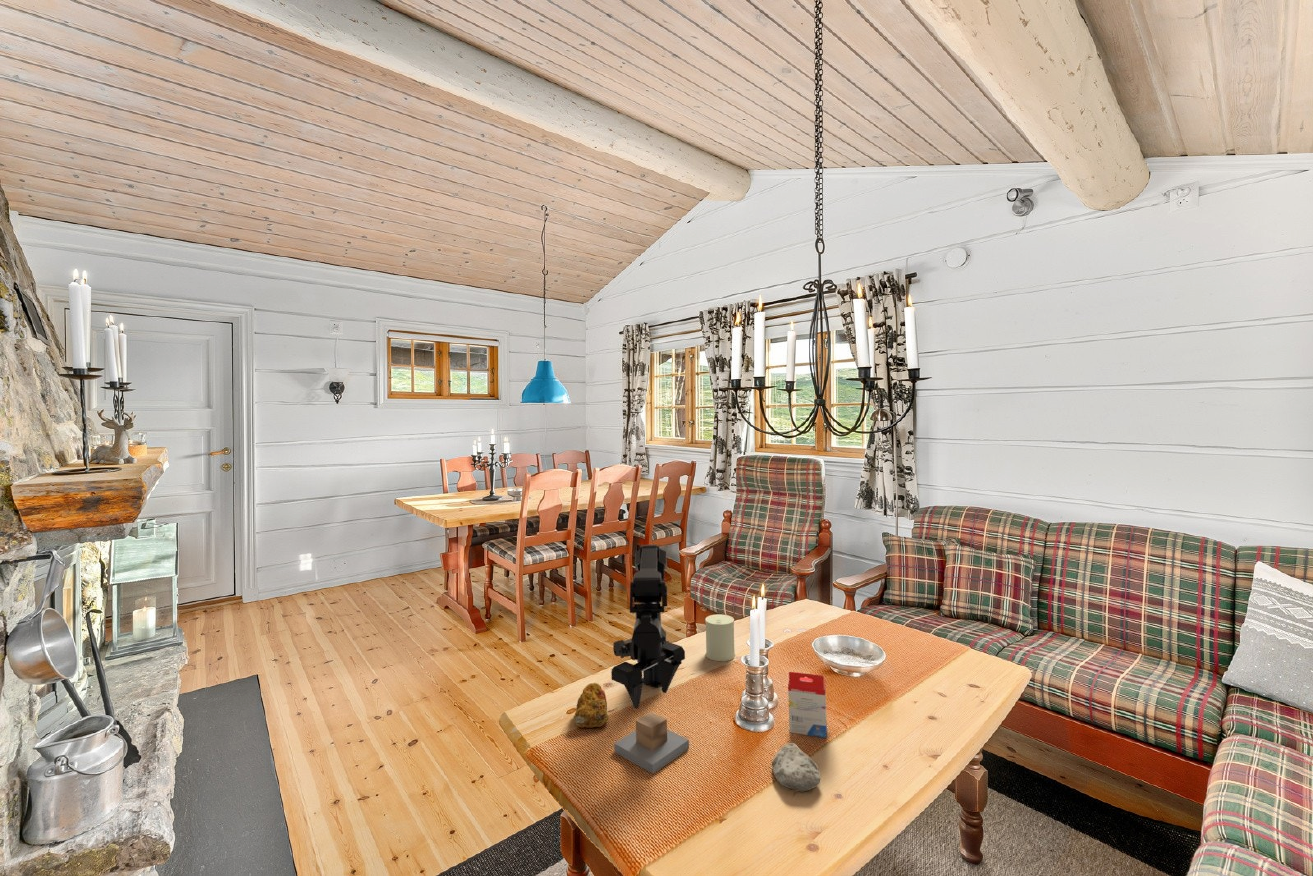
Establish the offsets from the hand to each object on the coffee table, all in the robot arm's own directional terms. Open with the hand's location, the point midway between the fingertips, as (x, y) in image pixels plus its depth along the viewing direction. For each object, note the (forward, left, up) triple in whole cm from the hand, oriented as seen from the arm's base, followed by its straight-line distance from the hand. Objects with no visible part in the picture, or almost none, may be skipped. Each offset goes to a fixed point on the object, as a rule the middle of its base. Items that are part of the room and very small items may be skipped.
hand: (650, 700), depth 124 cm
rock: (0, -21, -12) cm, 24 cm away
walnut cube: (0, 0, -10) cm, 10 cm away
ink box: (-30, +23, -12) cm, 40 cm away
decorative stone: (-13, +29, -12) cm, 34 cm away
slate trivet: (0, 0, -12) cm, 12 cm away
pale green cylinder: (-51, -18, -12) cm, 55 cm away
